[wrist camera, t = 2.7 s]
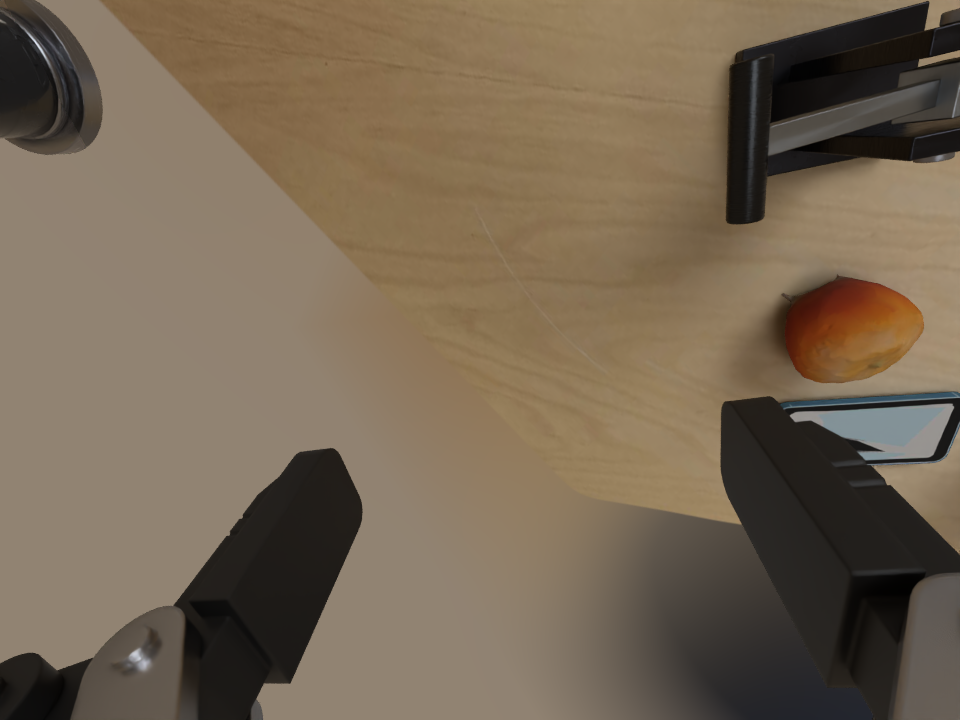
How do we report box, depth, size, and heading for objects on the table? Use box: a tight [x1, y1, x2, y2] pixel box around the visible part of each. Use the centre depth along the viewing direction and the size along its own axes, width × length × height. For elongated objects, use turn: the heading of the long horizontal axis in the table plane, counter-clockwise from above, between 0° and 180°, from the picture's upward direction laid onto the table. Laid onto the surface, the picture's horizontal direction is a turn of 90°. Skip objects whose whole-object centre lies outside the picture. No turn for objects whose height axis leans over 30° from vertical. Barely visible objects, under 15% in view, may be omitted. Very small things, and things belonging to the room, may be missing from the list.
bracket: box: [736, 1, 960, 176], centre depth 24 cm, size 10×8×13 cm
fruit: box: [781, 274, 924, 383], centre depth 33 cm, size 8×8×8 cm
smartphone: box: [780, 392, 960, 465], centre depth 40 cm, size 7×1×15 cm
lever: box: [726, 54, 960, 224], centre depth 19 cm, size 13×6×2 cm, turn 103°
